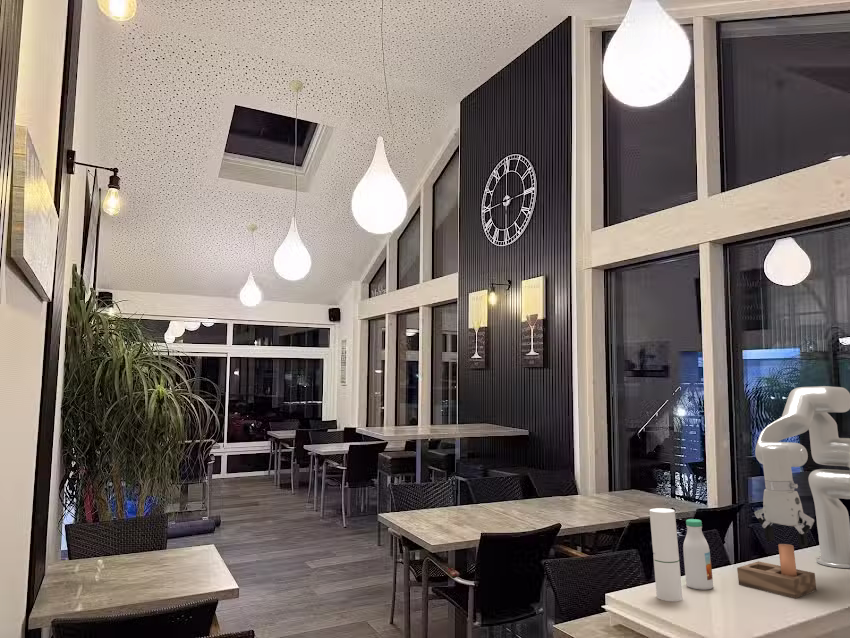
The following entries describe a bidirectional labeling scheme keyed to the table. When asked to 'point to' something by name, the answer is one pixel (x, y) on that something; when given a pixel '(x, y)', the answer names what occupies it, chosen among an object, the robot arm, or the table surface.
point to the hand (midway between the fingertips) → (786, 543)
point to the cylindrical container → (665, 554)
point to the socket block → (776, 579)
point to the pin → (787, 560)
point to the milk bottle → (697, 557)
